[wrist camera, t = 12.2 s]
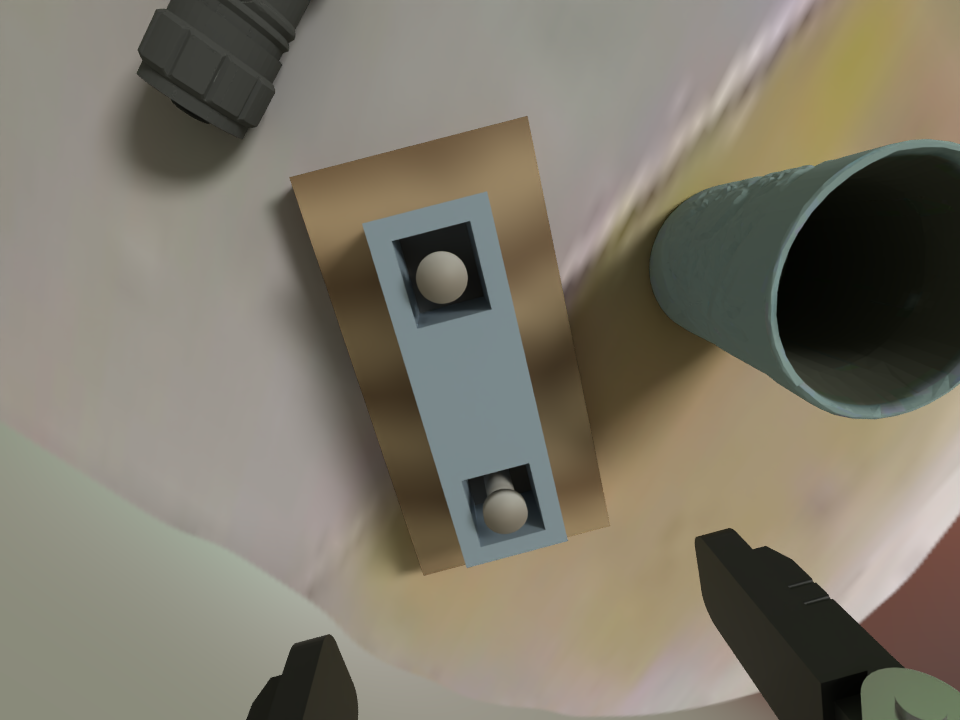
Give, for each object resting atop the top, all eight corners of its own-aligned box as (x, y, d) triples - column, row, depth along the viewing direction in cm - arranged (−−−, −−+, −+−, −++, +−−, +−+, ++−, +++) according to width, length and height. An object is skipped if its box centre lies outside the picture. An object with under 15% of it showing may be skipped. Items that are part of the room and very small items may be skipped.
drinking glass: (635, 181, 28) (773, 157, 17) (811, 158, 29) (1063, 119, 17) (641, 356, 31) (763, 439, 19) (801, 333, 31) (1012, 401, 20)
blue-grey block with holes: (373, 222, 25) (362, 223, 22) (479, 195, 25) (487, 191, 22) (463, 523, 31) (466, 567, 27) (551, 500, 31) (567, 540, 27)
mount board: (300, 180, 27) (253, 167, 20) (520, 123, 27) (549, 91, 20) (424, 555, 33) (421, 640, 27) (600, 508, 34) (641, 581, 27)
